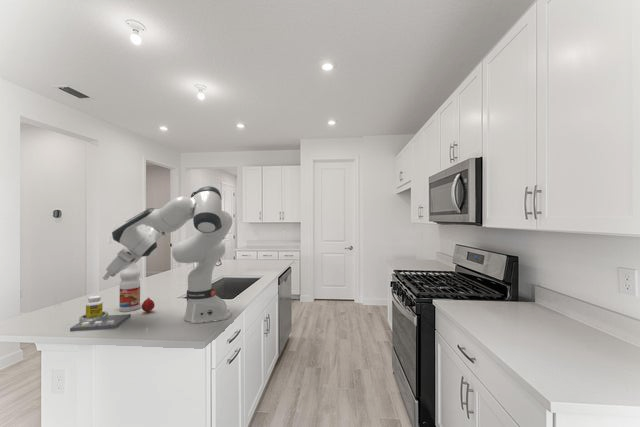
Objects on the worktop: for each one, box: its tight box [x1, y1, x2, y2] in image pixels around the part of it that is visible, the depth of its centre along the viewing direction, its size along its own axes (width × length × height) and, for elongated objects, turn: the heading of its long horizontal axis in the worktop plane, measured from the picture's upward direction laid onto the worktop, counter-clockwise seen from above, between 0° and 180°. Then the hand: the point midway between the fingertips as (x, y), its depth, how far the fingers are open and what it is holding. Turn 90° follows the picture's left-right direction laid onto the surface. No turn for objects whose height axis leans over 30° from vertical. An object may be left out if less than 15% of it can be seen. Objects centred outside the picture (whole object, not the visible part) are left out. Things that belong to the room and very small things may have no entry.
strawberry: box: [141, 297, 155, 314], centre depth 151 cm, size 6×6×8 cm
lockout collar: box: [78, 310, 109, 324], centre depth 136 cm, size 10×10×2 cm
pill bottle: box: [85, 295, 104, 318], centre depth 136 cm, size 6×6×11 cm
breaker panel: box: [69, 313, 132, 332], centre depth 136 cm, size 18×15×3 cm
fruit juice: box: [119, 262, 141, 313], centre depth 157 cm, size 9×9×28 cm
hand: (108, 277), depth 135 cm, fingers open, 8 cm apart
